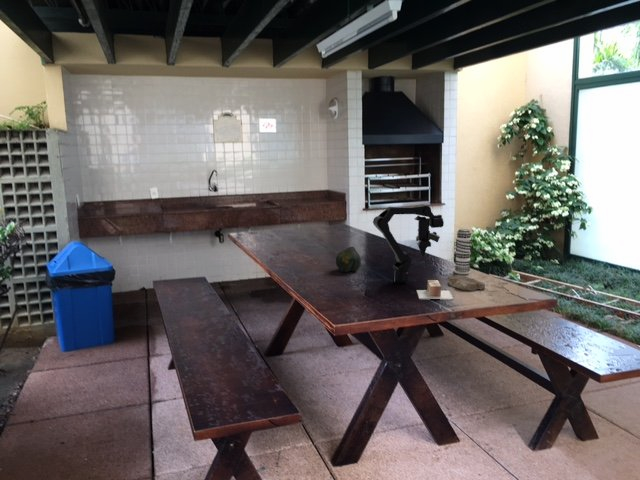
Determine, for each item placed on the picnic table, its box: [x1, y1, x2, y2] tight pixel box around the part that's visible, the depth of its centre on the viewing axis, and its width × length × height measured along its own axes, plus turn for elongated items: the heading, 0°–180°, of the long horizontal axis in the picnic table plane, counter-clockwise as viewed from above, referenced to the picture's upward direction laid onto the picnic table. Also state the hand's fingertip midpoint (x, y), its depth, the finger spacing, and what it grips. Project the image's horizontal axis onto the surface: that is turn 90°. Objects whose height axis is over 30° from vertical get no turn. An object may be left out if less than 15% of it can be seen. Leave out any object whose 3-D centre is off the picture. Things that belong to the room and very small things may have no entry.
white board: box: [416, 289, 454, 301], centre depth 259 cm, size 16×14×1 cm
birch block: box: [427, 279, 442, 297], centre depth 261 cm, size 5×5×12 cm
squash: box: [335, 246, 362, 273], centre depth 310 cm, size 14×15×15 cm
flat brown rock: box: [447, 274, 486, 292], centre depth 276 cm, size 14×5×20 cm
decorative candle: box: [454, 228, 473, 275], centre depth 303 cm, size 9×9×25 cm
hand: (422, 256), depth 286 cm, fingers closed
